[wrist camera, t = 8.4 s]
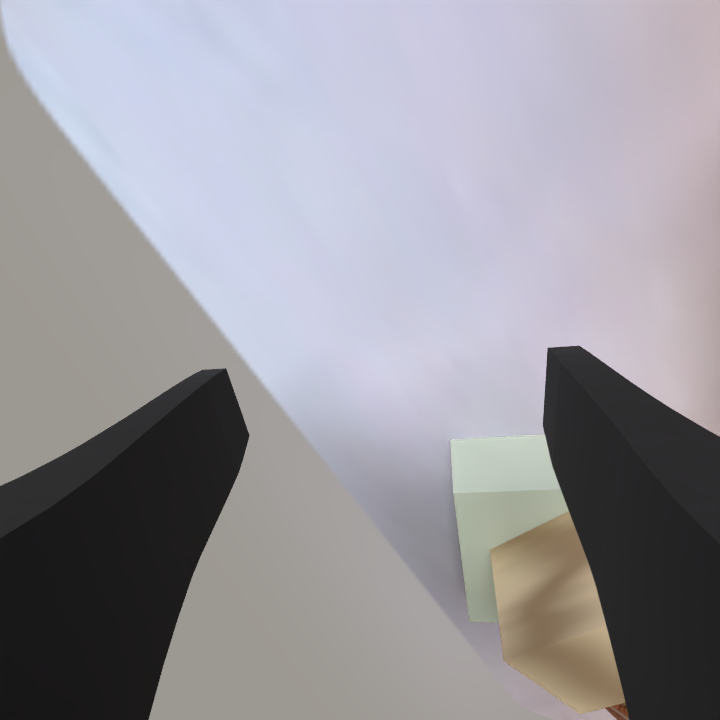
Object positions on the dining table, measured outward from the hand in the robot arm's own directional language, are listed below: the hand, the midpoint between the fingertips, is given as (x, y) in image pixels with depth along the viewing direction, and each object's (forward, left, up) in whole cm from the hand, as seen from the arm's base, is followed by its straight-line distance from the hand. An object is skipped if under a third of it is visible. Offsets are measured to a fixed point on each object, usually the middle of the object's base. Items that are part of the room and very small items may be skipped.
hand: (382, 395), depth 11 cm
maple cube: (-6, +14, -6) cm, 17 cm away
